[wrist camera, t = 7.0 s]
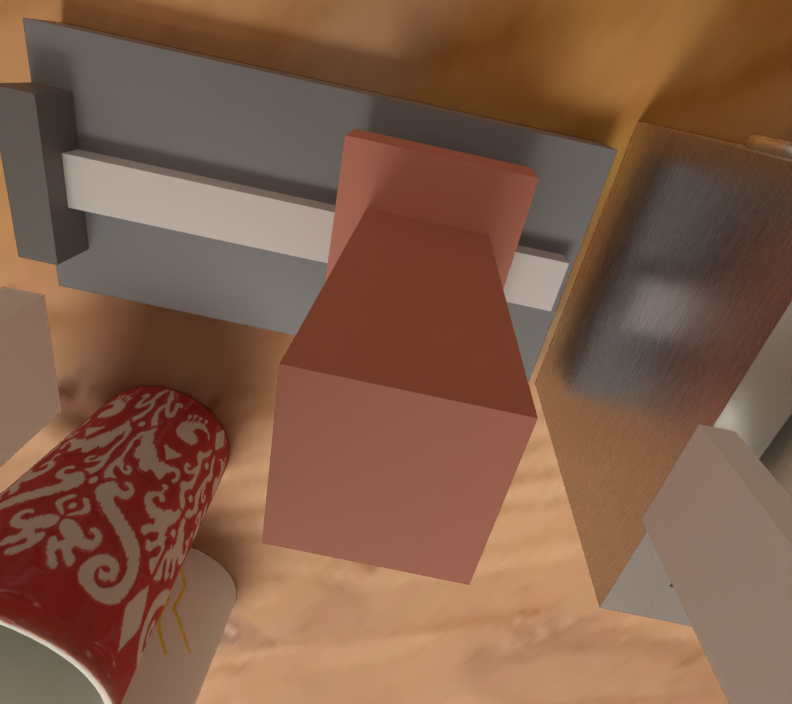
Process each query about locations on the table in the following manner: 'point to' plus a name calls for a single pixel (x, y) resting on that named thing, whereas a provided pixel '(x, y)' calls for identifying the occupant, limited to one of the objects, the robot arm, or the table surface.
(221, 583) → the cup
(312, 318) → the carriage
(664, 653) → the table surface
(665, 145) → the grey box holder
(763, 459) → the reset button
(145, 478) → the mug
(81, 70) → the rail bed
